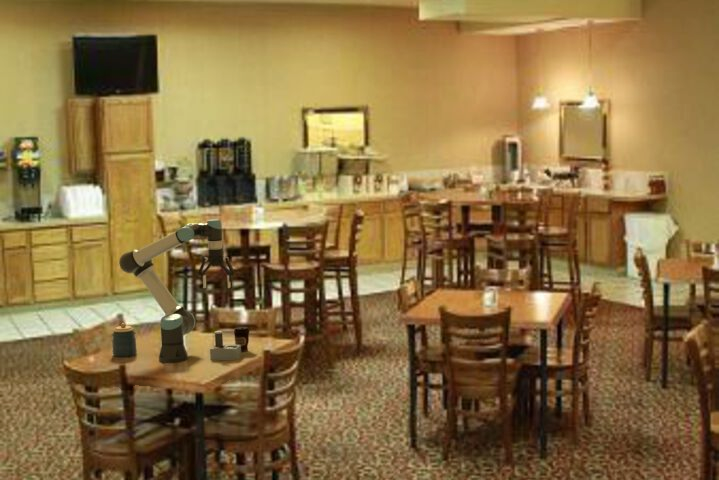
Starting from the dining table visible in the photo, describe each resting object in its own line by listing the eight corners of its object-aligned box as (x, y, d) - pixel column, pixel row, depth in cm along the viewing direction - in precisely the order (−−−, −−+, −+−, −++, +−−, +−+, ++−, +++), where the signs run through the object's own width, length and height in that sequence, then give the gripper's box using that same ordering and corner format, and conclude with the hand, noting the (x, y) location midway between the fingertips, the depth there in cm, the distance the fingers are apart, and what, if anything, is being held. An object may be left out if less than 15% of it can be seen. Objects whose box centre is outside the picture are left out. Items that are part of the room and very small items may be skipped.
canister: (107, 355, 550) (106, 323, 548) (128, 351, 560) (126, 319, 558) (121, 358, 541) (119, 326, 539) (141, 354, 551) (140, 322, 549)
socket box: (210, 359, 533) (209, 348, 533) (216, 355, 543) (215, 343, 542) (236, 360, 531) (235, 348, 530) (241, 355, 541) (240, 344, 540)
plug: (214, 354, 536) (213, 332, 534) (216, 352, 540) (215, 330, 538) (222, 354, 535) (221, 332, 534) (224, 353, 539) (223, 330, 538)
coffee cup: (247, 353, 547) (246, 329, 546) (232, 352, 549) (231, 329, 547) (251, 349, 556) (251, 326, 554) (237, 349, 557) (236, 326, 556)
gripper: (190, 249, 536) (192, 288, 539) (235, 249, 532) (237, 288, 535) (195, 247, 544) (196, 286, 546) (239, 247, 540) (241, 286, 542)
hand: (217, 287), depth 541 cm, fingers open, 13 cm apart
